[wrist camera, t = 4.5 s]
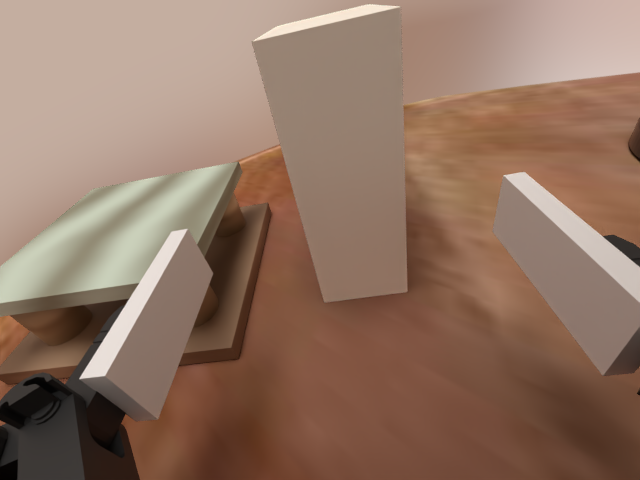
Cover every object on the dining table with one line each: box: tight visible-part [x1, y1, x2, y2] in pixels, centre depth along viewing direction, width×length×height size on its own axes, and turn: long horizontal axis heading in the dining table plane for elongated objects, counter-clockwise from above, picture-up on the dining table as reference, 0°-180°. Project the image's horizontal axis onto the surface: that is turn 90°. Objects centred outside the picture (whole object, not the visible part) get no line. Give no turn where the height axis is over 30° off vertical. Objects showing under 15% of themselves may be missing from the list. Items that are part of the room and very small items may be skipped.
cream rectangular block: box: [252, 4, 408, 303], centre depth 19 cm, size 6×9×15 cm, turn 0°
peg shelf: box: [0, 162, 271, 384], centre depth 24 cm, size 16×16×6 cm
